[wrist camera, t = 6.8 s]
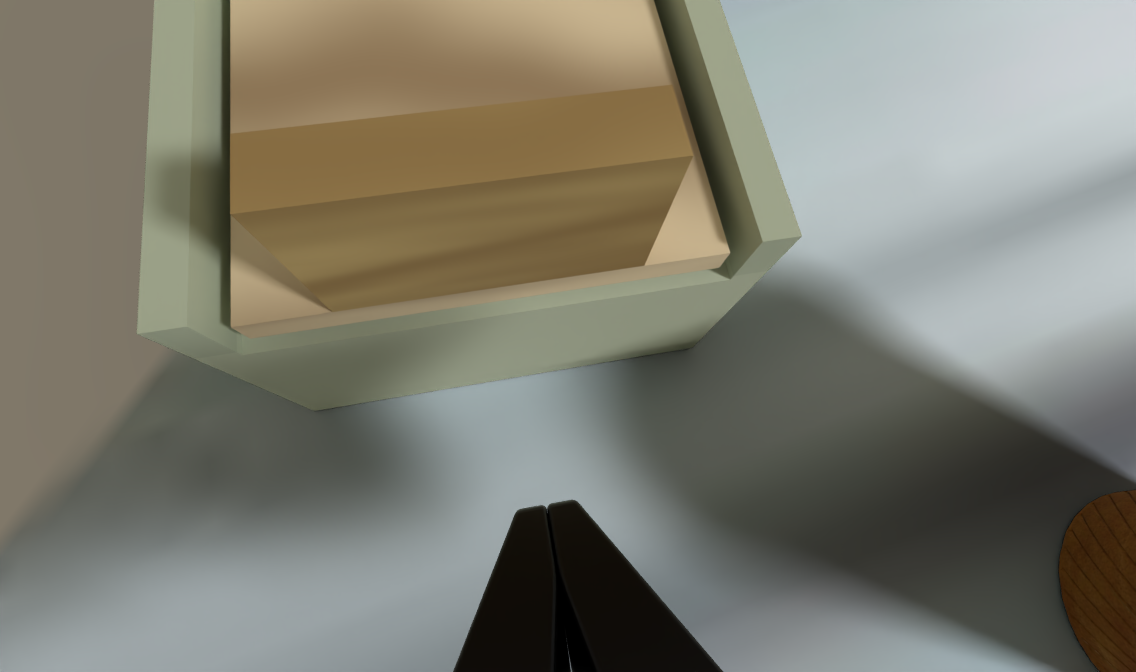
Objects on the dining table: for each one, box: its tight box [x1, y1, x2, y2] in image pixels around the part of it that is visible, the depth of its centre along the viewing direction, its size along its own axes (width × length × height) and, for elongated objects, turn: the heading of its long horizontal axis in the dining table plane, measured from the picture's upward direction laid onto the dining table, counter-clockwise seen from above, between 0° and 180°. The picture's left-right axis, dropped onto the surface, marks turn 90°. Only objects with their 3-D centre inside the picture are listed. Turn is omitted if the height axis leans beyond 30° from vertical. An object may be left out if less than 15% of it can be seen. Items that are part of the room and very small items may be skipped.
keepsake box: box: [137, 0, 802, 411], centre depth 15 cm, size 10×12×8 cm
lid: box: [230, 0, 730, 339], centre depth 10 cm, size 9×10×4 cm
